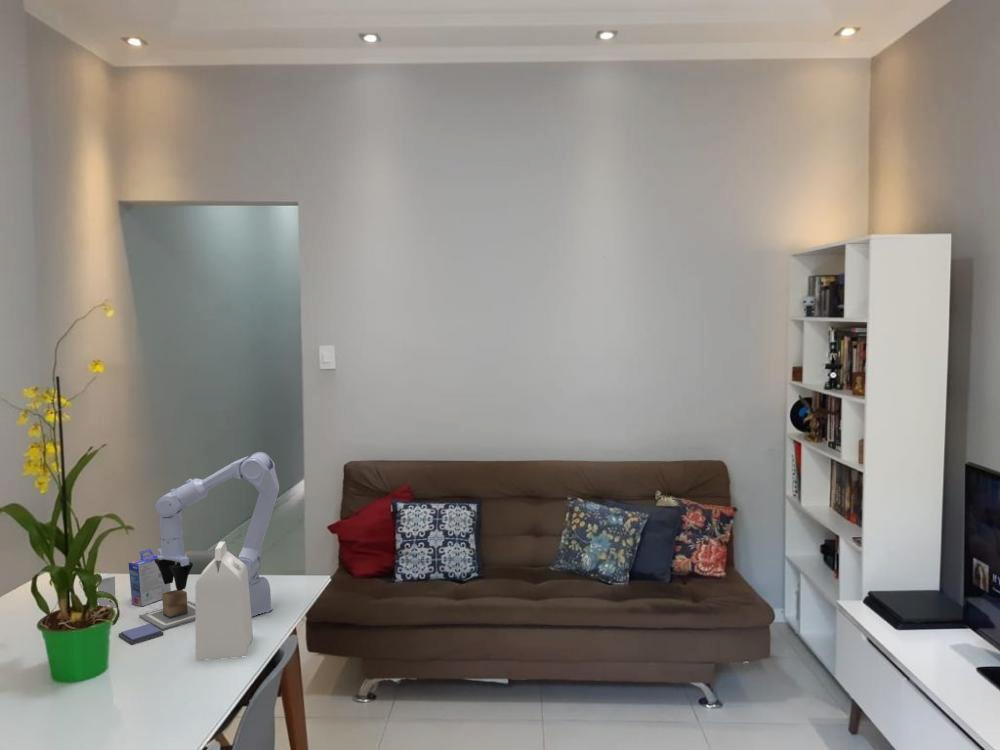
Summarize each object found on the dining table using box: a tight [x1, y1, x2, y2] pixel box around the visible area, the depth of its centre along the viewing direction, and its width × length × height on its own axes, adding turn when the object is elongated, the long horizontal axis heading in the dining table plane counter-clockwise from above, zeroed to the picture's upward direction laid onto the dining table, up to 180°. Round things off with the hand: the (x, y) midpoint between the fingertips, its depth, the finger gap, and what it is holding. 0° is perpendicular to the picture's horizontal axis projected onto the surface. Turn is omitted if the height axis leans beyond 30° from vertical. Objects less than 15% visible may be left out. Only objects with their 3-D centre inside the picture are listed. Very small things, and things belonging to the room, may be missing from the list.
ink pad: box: [118, 623, 164, 646], centre depth 203 cm, size 8×8×1 cm
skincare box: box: [98, 572, 116, 607], centre depth 214 cm, size 6×4×12 cm
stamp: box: [161, 589, 188, 619], centre depth 215 cm, size 5×4×6 cm
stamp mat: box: [138, 600, 195, 632], centre depth 216 cm, size 14×14×1 cm
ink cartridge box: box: [128, 548, 172, 607], centre depth 228 cm, size 10×6×14 cm, turn 148°
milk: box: [194, 540, 254, 661], centre depth 193 cm, size 12×12×26 cm
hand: (174, 586), depth 215 cm, fingers open, 7 cm apart
